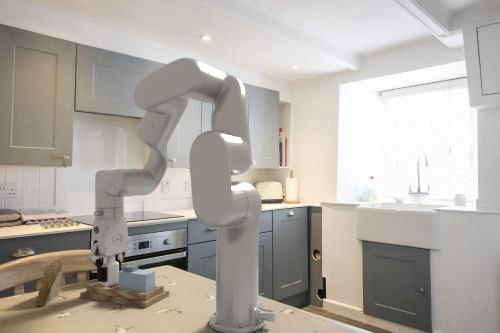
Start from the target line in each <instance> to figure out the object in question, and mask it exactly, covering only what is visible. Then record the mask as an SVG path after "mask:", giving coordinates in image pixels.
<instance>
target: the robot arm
mask: <svg viewBox="0 0 500 333" xmlns="http://www.w3.org/2000/svg"><path fill="white" fill-rule="evenodd" d="M132 96H133V97H132V98H133V102H134V104H135V105H136V107H137V108H138V109H140V110H141V111H144V115H143V116H142V118H141V120H140V122H139V124H138V127H137V128H136V132H135V133H136V134H135V135H136V137H137V138H138V140H139V141H140V142H142V143H143V144H144V145H145V146H146V147H149V154H148V158H147V160H146V162H145V164H144V166H143V168H117V169H101V170H100V169H99V170H98V171H96V173H95V177H94V178H95V180H94V185H95V186H94V199H95V200H94V204H95V207H94V212H93V216H94V220H93V223H92V229H91V241H90V243H91V244H90V252H89V254H88V256H87V260H89V261H90V262H91V263H93V264H94V267H95V268H96V281H97V282H107V281H108V268H107V267H106V262H107V257H109V256H112V255H116V254H117V255H116V257H115V261H117V262H118V263H119V271H121V270H122V263H123V261H124V257H125V255H126V254H127V252H128V251H129V233H128V231H129V230H128V229H129V228H128V224H127V223H128V222H127V219H126V217H125V216H124V215H125V214H124V209H125V208H124V207H125V206H124V205H125V203H124V202H125V198H124V197H133V196H137V197H138V196H147V195H150V194H152V193H153V192H154V191H156V190H157V188H158V186H159V185H160V184H161V182H162V180H163V178H164V176H165V175H166V172H167V171H168V170H167V169H168V162H169V154H168V150H167V145H168V143H169V141H170V139H171V137H172V135H173V134H174V132H175V130H176V127H178V124H179V122H180V120H181V118H182V117H183V115H184V113H185V111H186V109H187V108H188V105H189V99H191V100H195V101H198V102H202V103H206V104H212V105H213V107H212V110H211V113H210V115H211V116H210V122H211V130H206V131H203V132H201V133H200V134H198V135H197V136H196V137H195V139H194V140H193V142H192V144H191V147H190V150H189V160H188V162H189V163H188V164H189V176H190V177H189V178H190V185H191V187H190V188H191V196H192V197H191V198H192V199H191V200H192V207H193V211H194V215H195V216H196V219H197V220H198V221H199V223H200V224H201V225H202V226H204V227H205V228H208V229H210V230H211V229H212V230H215V229H217V230H218V231H217V235H216V236H217V237H216V246H215V247H216V250H215V252H216V254H215V274H216V275H215V280H216V281H215V291H216V292H215V299H216V300H215V302H216V303H215V306H216V307H215V309H216V310H215V312H213V313H212V314H210V316H209V319H208V322H209V326H210V327H211V328H212V329H213V330H215V331H217V332H220V333H253V332H255V331H258V330H261V329H262V328H263V327H264V326H265V325H266V322H269V323H270V322H271V323H276V320H277V313H276V312H275V309H274V308H266V307H264V306H263V304H264V303H263V301H264V300H259V240H260V238H259V236H260V235H259V234H260V224H261V217H262V210H263V208H262V207H263V203H262V202H263V201H262V197H261V195H260V193H259V191H258V189H257V187H255V186H253V184H251V183H248V182H245V181H241V180H240V181H239V180H238V181H237V180H234V181H232V177H233V176H239V175H243V174H245V173H246V172H248V170H249V169H250V167H251V165H252V158H253V156H252V146H251V135H250V125H249V124H250V123H249V117H248V105H247V104H248V102H247V92H246V89H245V86H244V84H243V82H242V81H241V80H240V79H239V78H238V77H236V76H234V75H232V74H230V73H228V72H225V71H223V70H220V69H218V68H216V67H213V66H211V65H208V64H206V63H204V62H202V61H200V60H197V59H194V58H191V57H182V58H181V57H180V58H177V59H175V60H173V61H171V62H168V63H167V64H164V65H163V66H160V67H158V68H157V69H154V70H152V71H150V72H149V73H147V74H145V75H144V76H143V77H142V78H141V79H140V80H139V81H138V82H137V83H136V85H135V87H134V90H133V94H132ZM101 258H103V259H102V261H101Z"/></svg>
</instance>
